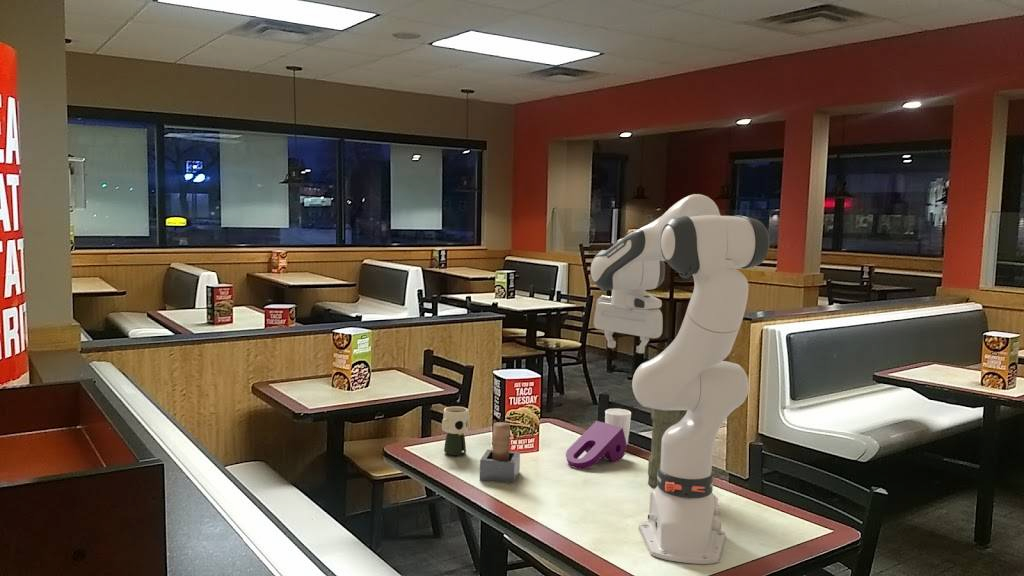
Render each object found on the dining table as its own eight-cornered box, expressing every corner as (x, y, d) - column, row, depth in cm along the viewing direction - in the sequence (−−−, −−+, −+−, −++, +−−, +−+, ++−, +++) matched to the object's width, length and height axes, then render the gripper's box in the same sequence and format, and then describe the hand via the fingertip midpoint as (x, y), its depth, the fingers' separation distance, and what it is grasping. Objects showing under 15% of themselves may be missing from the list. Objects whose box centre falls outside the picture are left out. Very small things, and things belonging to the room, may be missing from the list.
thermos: (678, 495, 194) (686, 358, 191) (636, 484, 201) (643, 352, 198) (693, 486, 201) (701, 354, 198) (652, 475, 208) (659, 348, 205)
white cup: (615, 438, 242) (617, 407, 241) (634, 444, 236) (636, 412, 235) (598, 442, 237) (599, 410, 236) (617, 449, 231) (619, 416, 230)
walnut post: (506, 479, 201) (508, 427, 200) (490, 478, 202) (491, 426, 200) (509, 474, 205) (511, 423, 204) (493, 472, 206) (495, 421, 205)
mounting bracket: (592, 490, 212) (628, 451, 223) (585, 466, 209) (622, 427, 220) (566, 481, 219) (602, 443, 230) (559, 457, 216) (596, 420, 226)
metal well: (513, 483, 198) (514, 462, 198) (479, 480, 200) (480, 459, 199) (519, 472, 207) (520, 452, 207) (486, 469, 209) (487, 449, 208)
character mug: (450, 461, 214) (452, 415, 213) (432, 455, 219) (433, 410, 218) (476, 452, 223) (478, 408, 222) (458, 446, 227) (460, 403, 226)
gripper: (590, 295, 208) (587, 345, 210) (653, 303, 194) (650, 357, 195) (604, 294, 213) (602, 343, 214) (667, 302, 199) (664, 354, 200)
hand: (625, 350), depth 205 cm, fingers open, 8 cm apart
